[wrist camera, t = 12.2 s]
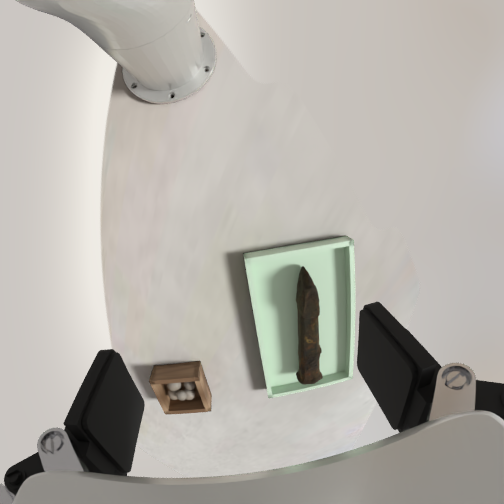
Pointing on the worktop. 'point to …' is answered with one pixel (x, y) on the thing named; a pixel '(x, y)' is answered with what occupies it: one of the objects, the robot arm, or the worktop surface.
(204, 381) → the gravel box
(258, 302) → the tray
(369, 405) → the worktop surface
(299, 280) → the dark brown tapered bar
